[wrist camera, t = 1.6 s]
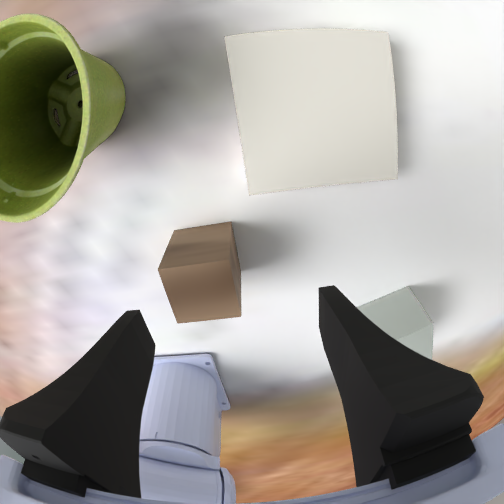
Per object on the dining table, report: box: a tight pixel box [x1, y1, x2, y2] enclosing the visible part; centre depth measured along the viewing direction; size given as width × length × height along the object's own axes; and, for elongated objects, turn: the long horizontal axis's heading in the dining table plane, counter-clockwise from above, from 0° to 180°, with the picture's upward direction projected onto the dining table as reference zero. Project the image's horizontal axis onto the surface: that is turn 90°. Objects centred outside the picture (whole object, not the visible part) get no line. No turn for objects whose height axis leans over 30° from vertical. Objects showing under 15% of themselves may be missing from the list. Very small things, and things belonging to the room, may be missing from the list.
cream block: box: [224, 29, 398, 196], centre depth 16 cm, size 9×9×3 cm
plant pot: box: [0, 14, 125, 223], centre depth 12 cm, size 9×9×9 cm
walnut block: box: [158, 222, 241, 323], centre depth 19 cm, size 4×4×5 cm
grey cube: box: [356, 286, 433, 360], centre depth 23 cm, size 5×5×5 cm
